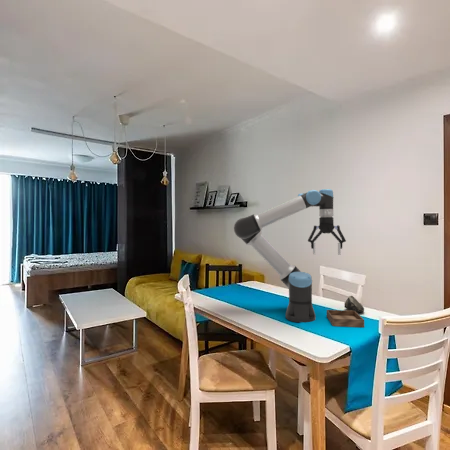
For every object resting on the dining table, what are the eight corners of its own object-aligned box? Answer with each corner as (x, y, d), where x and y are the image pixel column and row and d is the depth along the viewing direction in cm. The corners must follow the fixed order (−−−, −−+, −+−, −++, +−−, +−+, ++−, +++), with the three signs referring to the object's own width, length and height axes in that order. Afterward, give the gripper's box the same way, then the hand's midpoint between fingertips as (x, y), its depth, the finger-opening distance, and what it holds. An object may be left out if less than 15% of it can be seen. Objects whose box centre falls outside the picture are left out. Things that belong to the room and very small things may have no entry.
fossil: (368, 312, 158) (358, 296, 159) (352, 320, 160) (342, 303, 160) (362, 307, 169) (353, 291, 170) (347, 314, 170) (338, 298, 171)
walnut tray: (332, 326, 141) (332, 318, 141) (326, 316, 156) (326, 309, 156) (364, 327, 139) (364, 319, 139) (355, 317, 154) (354, 310, 154)
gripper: (304, 216, 165) (304, 255, 165) (351, 216, 161) (351, 255, 161) (302, 217, 172) (303, 253, 172) (347, 216, 169) (348, 254, 169)
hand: (326, 254), depth 167 cm, fingers open, 13 cm apart
